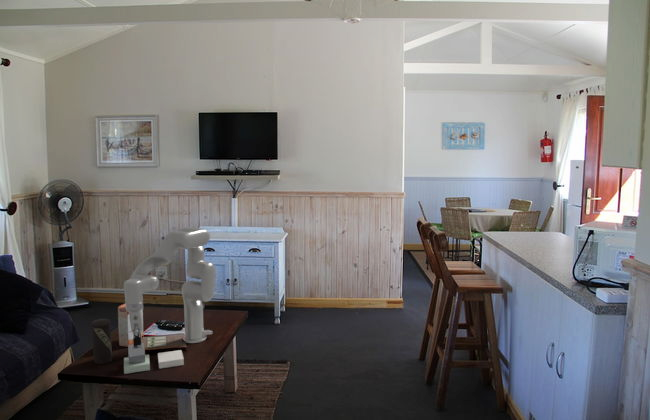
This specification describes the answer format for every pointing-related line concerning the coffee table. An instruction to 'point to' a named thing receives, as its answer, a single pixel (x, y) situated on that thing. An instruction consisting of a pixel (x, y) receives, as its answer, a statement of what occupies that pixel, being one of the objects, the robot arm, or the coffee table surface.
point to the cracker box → (125, 327)
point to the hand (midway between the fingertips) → (137, 341)
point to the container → (101, 341)
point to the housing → (136, 353)
